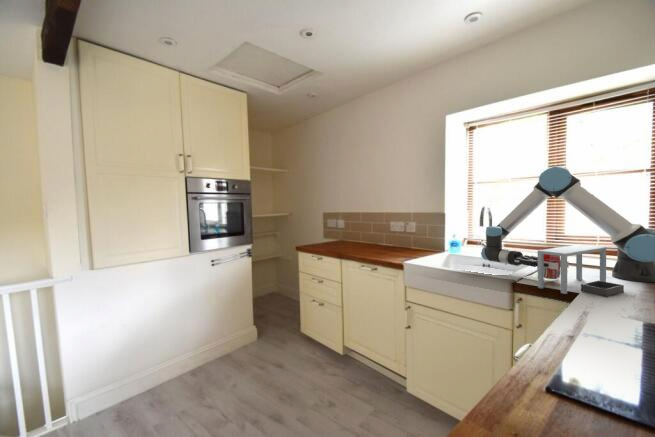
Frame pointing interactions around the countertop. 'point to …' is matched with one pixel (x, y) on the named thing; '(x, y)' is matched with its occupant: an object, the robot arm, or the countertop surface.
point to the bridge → (565, 252)
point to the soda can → (552, 272)
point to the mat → (535, 278)
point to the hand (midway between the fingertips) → (562, 265)
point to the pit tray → (602, 288)
